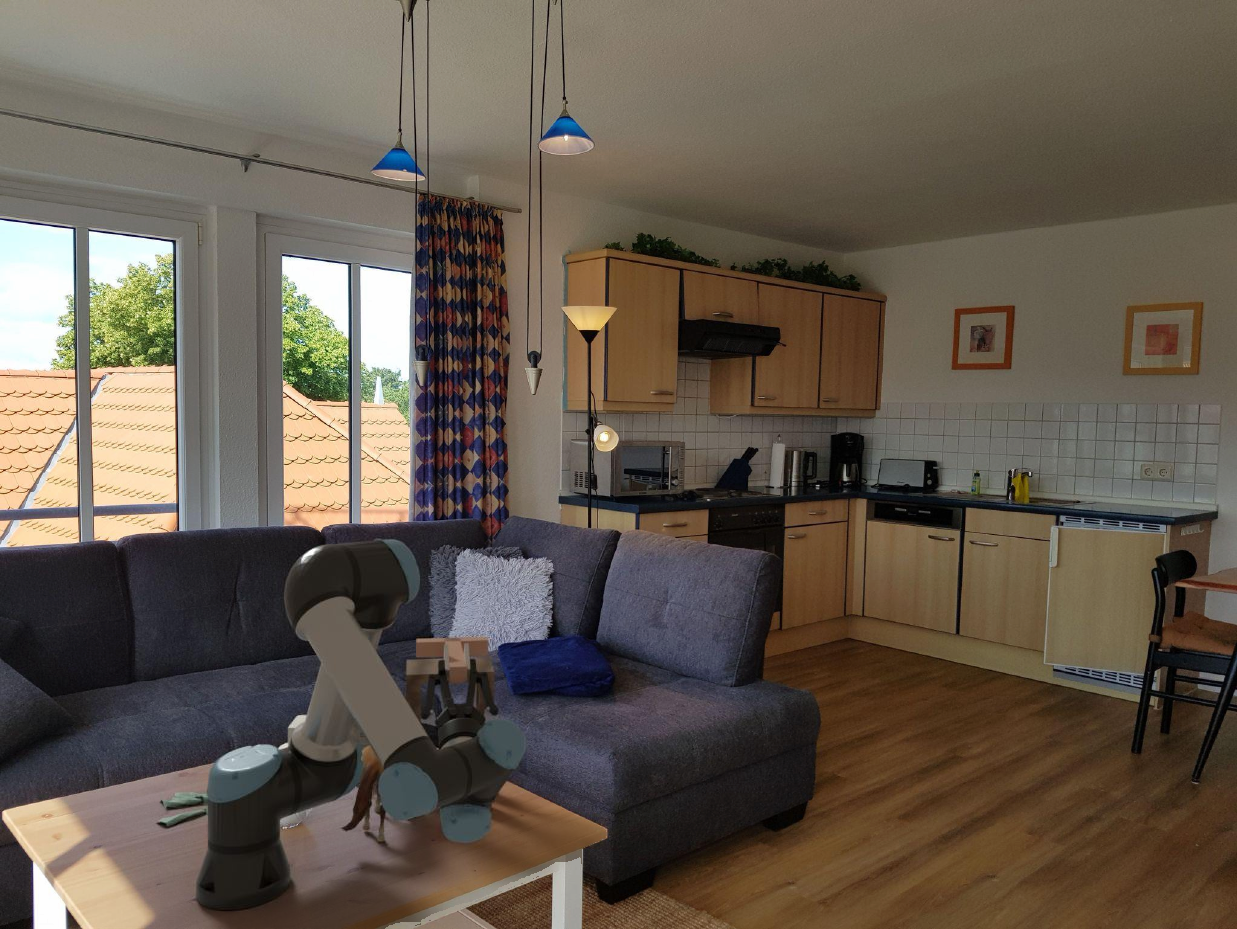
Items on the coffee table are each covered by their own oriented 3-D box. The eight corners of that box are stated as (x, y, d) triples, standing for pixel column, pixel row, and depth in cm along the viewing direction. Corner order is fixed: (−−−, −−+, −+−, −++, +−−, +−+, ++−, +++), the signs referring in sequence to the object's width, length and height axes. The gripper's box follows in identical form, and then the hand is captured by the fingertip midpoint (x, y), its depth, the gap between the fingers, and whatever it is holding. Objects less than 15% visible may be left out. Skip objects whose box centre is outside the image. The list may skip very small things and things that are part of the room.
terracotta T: (417, 685, 156) (418, 668, 156) (416, 653, 178) (416, 638, 178) (497, 681, 160) (497, 665, 160) (486, 651, 181) (486, 636, 181)
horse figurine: (376, 790, 197) (377, 699, 196) (411, 790, 197) (412, 699, 196) (339, 859, 166) (341, 750, 165) (381, 858, 166) (383, 750, 165)
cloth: (246, 824, 180) (246, 813, 180) (123, 843, 171) (123, 831, 171) (242, 786, 199) (242, 776, 199) (131, 802, 189) (131, 791, 189)
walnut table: (404, 818, 183) (406, 674, 182) (404, 794, 195) (406, 659, 194) (491, 811, 187) (494, 671, 186) (487, 789, 199) (489, 656, 198)
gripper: (411, 768, 146) (411, 665, 165) (509, 762, 150) (497, 662, 169) (412, 737, 142) (412, 635, 162) (512, 731, 146) (500, 632, 165)
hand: (456, 649), depth 165 cm, fingers closed on terracotta T, 3 cm apart
